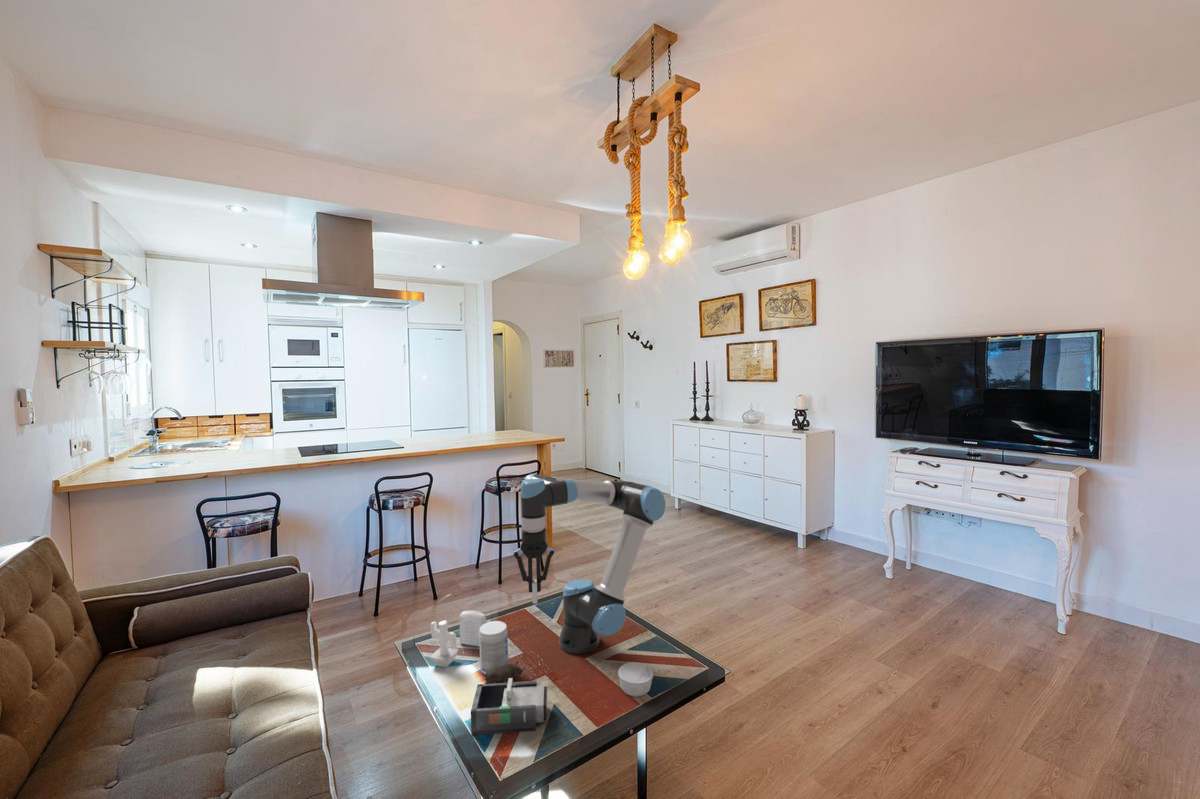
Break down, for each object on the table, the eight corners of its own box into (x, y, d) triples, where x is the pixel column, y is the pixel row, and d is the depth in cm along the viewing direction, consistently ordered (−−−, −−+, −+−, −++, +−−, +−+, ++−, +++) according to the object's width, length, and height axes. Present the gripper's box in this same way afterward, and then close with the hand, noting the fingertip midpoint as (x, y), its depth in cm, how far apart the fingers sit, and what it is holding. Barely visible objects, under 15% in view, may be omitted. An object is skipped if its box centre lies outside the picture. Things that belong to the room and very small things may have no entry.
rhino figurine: (527, 680, 163) (526, 662, 163) (485, 692, 158) (485, 673, 157) (523, 673, 167) (523, 656, 167) (483, 684, 161) (482, 667, 161)
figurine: (450, 671, 168) (448, 629, 168) (426, 667, 171) (425, 625, 170) (461, 659, 175) (460, 618, 174) (439, 655, 178) (437, 615, 177)
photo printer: (488, 641, 187) (487, 610, 186) (482, 648, 182) (482, 615, 182) (464, 638, 189) (463, 607, 188) (458, 644, 185) (457, 612, 184)
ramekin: (657, 697, 154) (657, 680, 154) (622, 701, 152) (622, 685, 152) (647, 675, 165) (647, 660, 165) (615, 679, 163) (615, 663, 163)
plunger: (547, 700, 151) (546, 672, 150) (546, 721, 142) (545, 691, 141) (505, 703, 150) (504, 675, 149) (501, 724, 141) (500, 694, 140)
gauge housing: (537, 702, 152) (536, 680, 152) (535, 731, 140) (534, 707, 140) (478, 706, 151) (477, 683, 150) (471, 736, 138) (470, 711, 138)
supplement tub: (512, 670, 168) (511, 629, 167) (486, 680, 163) (485, 638, 162) (501, 657, 176) (500, 617, 176) (476, 666, 171) (475, 625, 170)
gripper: (554, 524, 159) (555, 595, 161) (513, 525, 158) (515, 597, 159) (554, 531, 152) (555, 605, 153) (511, 533, 151) (513, 608, 152)
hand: (535, 601), depth 156 cm, fingers closed
